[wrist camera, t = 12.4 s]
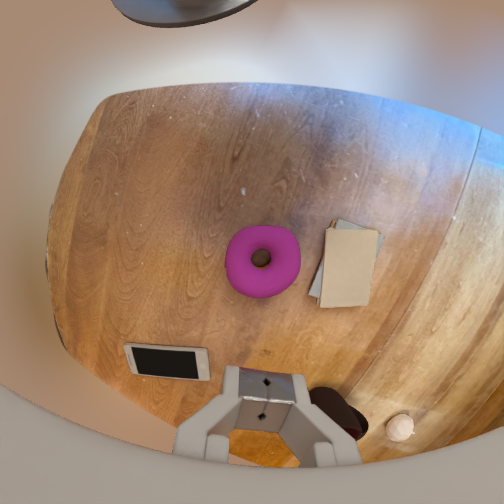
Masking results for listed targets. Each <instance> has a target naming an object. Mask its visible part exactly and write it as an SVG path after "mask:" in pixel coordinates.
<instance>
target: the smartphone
mask: <svg viewBox="0 0 504 504" xmlns="http://www.w3.org/2000/svg"><path fill="white" fill-rule="evenodd" d="M123 347H124V350H125V354H126V357H127V360H128V364H129V367H130V370H131V373H133V374H138V375H146V376H155V377H164V378H175V379H188V380H205V381H208V380H210V368H209V359H208V350H207V349H206V348H193V347H175V346H161V345H149V344H138V343H129V342H126V343H124V345H123Z"/></svg>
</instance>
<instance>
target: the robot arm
mask: <svg viewBox="0 0 504 504" xmlns="http://www.w3.org/2000/svg"><path fill="white" fill-rule="evenodd" d="M234 429H244V430H256V431H264V432H274V433H278V434H279V435H280V437H281V438H282V439H283V441H284V442H285V443H286V445H287V446H288V447H289V449H290V450H291V451H292V453H293V454H294V455H295V456H296V458H297V459H298V460H299V462H300V465H299V466H298V467H297V468H280V467H260V466H259V467H258V466H246V465H237V464H228V455H229V439H228V438H227V437H228V435H229V434H230V433H231V432H232V431H233V430H234ZM0 504H504V426H502V427H499V428H497V429H495V430H492V431H490V432H487V433H485V434H482V435H480V436H477V437H474V438H472V439H469V440H466V441H463V442H460V443H457V444H454V445H450V446H447V447H444V448H440V449H437V450H433V451H429V452H425V453H421V454H416V455H412V456H407V457H402V458H397V459H392V460H386V461H379V462H373V463H365V464H363V463H362V459H361V456H360V453H359V450H358V447H357V444H356V440H355V439H354V438H353V437H351V436H350V435H349V434H348V433H347V432H345V431H344V430H343V429H342V428H341V427H340V426H339V425H337V424H336V423H335V422H334V421H333V420H332V419H331V418H329V417H328V416H327V415H326V414H325V413H324V412H323V411H322V410H320V409H319V408H318V407H317V406H316V405H315V404H311V401H310V397H309V393H308V388H307V384H306V380H305V376H304V375H303V374H287V373H277V372H269V371H262V370H255V369H249V368H243V367H236V366H231V365H225V369H224V374H223V378H222V383H221V388H220V394H218V395H217V396H216V397H214V398H213V399H212V400H211V401H210V402H208V403H207V404H206V405H205V406H203V407H202V408H201V409H200V410H198V411H197V412H196V413H195V414H193V415H192V416H191V417H189V418H188V419H187V420H186V421H184V422H183V423H182V424H180V425H179V426H178V429H177V433H176V437H175V442H174V446H173V450H172V454H170V453H166V452H162V451H158V450H154V449H150V448H146V447H143V446H139V445H136V444H132V443H129V442H126V441H122V440H120V439H117V438H114V437H111V436H108V435H105V434H102V433H99V432H97V431H94V430H92V429H89V428H87V427H84V426H82V425H79V424H77V423H75V422H72V421H70V420H68V419H66V418H63V417H61V416H59V415H57V414H55V413H53V412H51V411H49V410H47V409H45V408H43V407H41V406H39V405H37V404H35V403H33V402H32V401H30V400H28V399H26V398H24V397H23V396H21V395H19V394H17V393H16V392H14V391H12V390H11V389H9V388H8V387H6V386H4V385H3V384H1V383H0Z"/></svg>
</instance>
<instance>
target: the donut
mask: <svg viewBox="0 0 504 504" xmlns="http://www.w3.org/2000/svg"><path fill="white" fill-rule="evenodd" d="M258 249H266V250H267V251H268V252H269V253H270V256H271V261H270V262H269V263H268V264H267V265H265V266H263V267H256V266H254V265H253V264H252V262H251V256H252V254H253V253H254V252H255V251H256V250H258ZM300 265H301V255H300V248H299V244H298V242H297V239H296V238H295V236H294V235H293V233H291V232H290V231H289V230H287V229H285V228H282V227H277V226H262V225H259V226H250V227H246V228H243V229H242V230H240V231H239V232H238V233H237V234H236V235H234V237H233V238H232V240H231V241H230V243H229V245H228V248H227V252H226V257H225V268H226V272H227V278H228V280H229V282H230V284H231V286H232V287H233V288H234V289H235V290H236V291H238V292H239V293H241V294H243V295H246V296H249V297H252V298H267V297H271V296H274V295H277V294H279V293H281V292H283V291H284V290H286V289H287V288H288V287H289V286H290V285H291V284H292V283H293V282H294V281H295V279H296V278H297V276H298V274H299V271H300Z"/></svg>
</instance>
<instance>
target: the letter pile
mask: <svg viewBox="0 0 504 504" xmlns="http://www.w3.org/2000/svg"><path fill="white" fill-rule="evenodd" d="M384 238H385V236H384V235H381V234H380V233H379V232H378V230H368V229H366V228H363V227H361V226H358V225H355V224H353V223H350V222H347V221H345V220H342V219H339V218H338V219H337V222H336V221H332V222H331V226H330V228H329V227H328V229H326V231H325V247H324V251H323V255H322V258H321V262H320V265H319V268H318V270H317V273H316V275H315V278H314V280H313V283H312V285H311V287H310V290H309V292H308V295H310V296H311V297H315V298H317V305H319V307H320V308H330V307H348V306H353V307H354V306H364V305H368V302H369V297H370V291H371V285H372V278H373V271H374V264H375V259H376V257H377V255H378V252H379V250H380V248H381V245H382V243H383V240H384Z"/></svg>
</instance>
